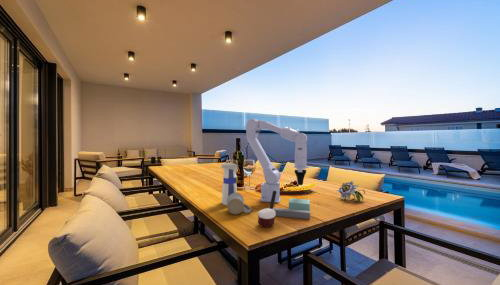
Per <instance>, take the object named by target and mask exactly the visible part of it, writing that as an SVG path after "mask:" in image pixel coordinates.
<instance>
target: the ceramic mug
mask: <svg viewBox="0 0 500 285" xmlns="http://www.w3.org/2000/svg"><path fill="white" fill-rule="evenodd" d="M226 208H227V210H228V212H229V213H230V214H231V215H235V216H236V215H237V216H238V215H240V214H241V213H242V212H243V213H246V214H250V213H251V211H252V208H251V207H250V206H249V205H248V204H246V203H245V200H244V197H243V195H241V194H240V193H238V192H237V193H232V194H230V195H229V196H228V198H227V205H226Z"/></svg>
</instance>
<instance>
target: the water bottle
mask: <svg viewBox="0 0 500 285" xmlns="http://www.w3.org/2000/svg"><path fill="white" fill-rule="evenodd" d="M236 156H237V158H239V153H238V152H237V154H236ZM221 168H222V169H223V174H222V178H223V180H222V185H221V186H222V188H221V189H222V190H221V191H222V192H221V193H222V194H221V204H222V205H224V206H227V198H228V196H229V195H230V194H232V193H238V191H237V190H238V189H237V188H238V186H237V184H238V175H237V173H236V172H237V168H238V164H236V163H234V162H233V163H232V162H231V163H230V162H228V163H227V162H224V163H222V164H221Z"/></svg>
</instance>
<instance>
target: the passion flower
mask: <svg viewBox="0 0 500 285" xmlns="http://www.w3.org/2000/svg"><path fill="white" fill-rule="evenodd" d="M357 188H359V184H355V185H354V180H351V181H348V182H343V183H341V186H340V187H339V189H338V190H336V192H337V193H340V198H342V200H343V201H344V200H346V199H347V200H349V199H350V198H351V196H353V198H354V199H357V200H356V201H357V202H359V203H361V199H362V201H364V196H363V194H365V195H366V192H365V189H360V190H358V189H357ZM361 191H363V194H362V193H361Z"/></svg>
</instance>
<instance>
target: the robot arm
mask: <svg viewBox="0 0 500 285" xmlns="http://www.w3.org/2000/svg"><path fill="white" fill-rule="evenodd" d="M244 127H245V131H246V141H247V142H248V145H249V146H250V148H251V149H252V152H253V154H254V155H255V158H257V160H258V163H259V164H260V166H261V168H262V173H263V176H264V181H265V182H262V183H261V187H260V202H265V203H271V198H272V194H273V191H276V197H275V201H274V203H277V204H279V203H280V202H281V200H282V197H280V193H281V191H280V187H281V186H280V185H281V184H280V179H281V176H282V175H281V171H280V170H278V169H277V168H276V167H275V166H274V164H272V162H271V160H270V159H269V157H268V155H267V154H266V151H265V150H264V148H263V146H262V144H261V142H260V141H259V138H258V137H259V134H260V132H261V131H262V130H269V131H271V132H274V133H277V134H279V135H280V137H281V138H282V139H285V140H288V141H290V142H293V143H295V147H294V167H293V168H294V173H295V177H296V181H297V185H298V186H303V184H304V180H305V179H304V178H305V176H306V174H307V169H309V168H310V166H308V165H307V164H308V163H307V161H308V160H307V157H308V156H307V154H308V148H307V142H308V136H307V134H305V133H303V132H300V130H295V129H292V128H291V126H284V127H280V126H278V125H275V124H274V123H271V122H268V121H266V120H261V119H256V118H249V119H248V120H247V122H246V124H245V126H244Z"/></svg>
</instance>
